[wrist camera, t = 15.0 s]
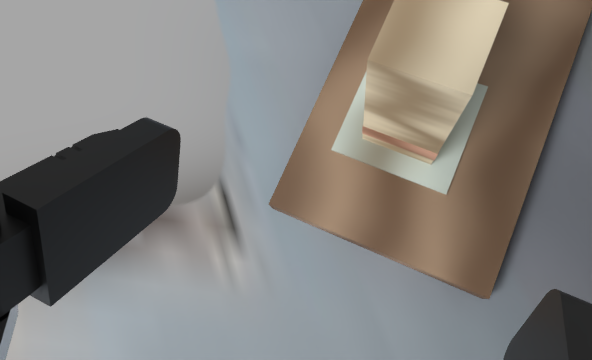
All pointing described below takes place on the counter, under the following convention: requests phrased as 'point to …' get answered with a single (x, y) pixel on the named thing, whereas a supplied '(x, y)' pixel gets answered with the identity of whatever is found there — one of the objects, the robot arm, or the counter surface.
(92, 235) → the robot arm
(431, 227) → the seat board
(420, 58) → the maple link block
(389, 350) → the counter surface
